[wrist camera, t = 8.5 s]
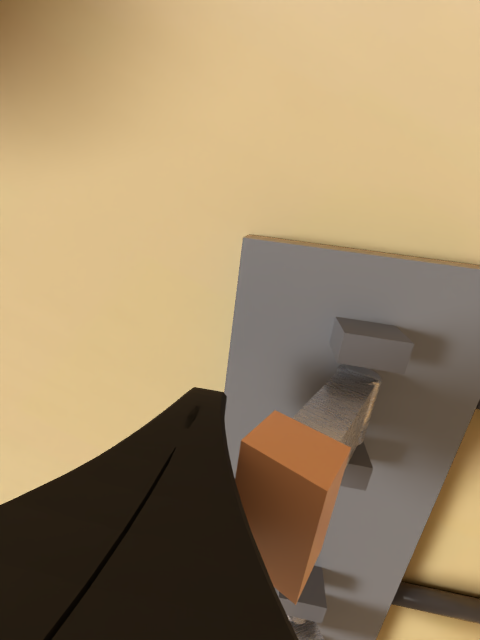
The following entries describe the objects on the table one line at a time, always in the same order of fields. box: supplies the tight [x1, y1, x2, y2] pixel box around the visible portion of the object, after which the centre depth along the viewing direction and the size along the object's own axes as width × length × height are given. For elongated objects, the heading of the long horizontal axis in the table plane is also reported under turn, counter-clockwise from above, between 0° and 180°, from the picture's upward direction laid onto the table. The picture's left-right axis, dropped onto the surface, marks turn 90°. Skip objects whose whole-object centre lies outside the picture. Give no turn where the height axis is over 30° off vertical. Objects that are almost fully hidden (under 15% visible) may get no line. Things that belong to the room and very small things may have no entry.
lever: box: [235, 364, 382, 605], centre depth 9 cm, size 2×3×6 cm, turn 171°
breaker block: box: [224, 235, 480, 640], centre depth 13 cm, size 16×22×4 cm
